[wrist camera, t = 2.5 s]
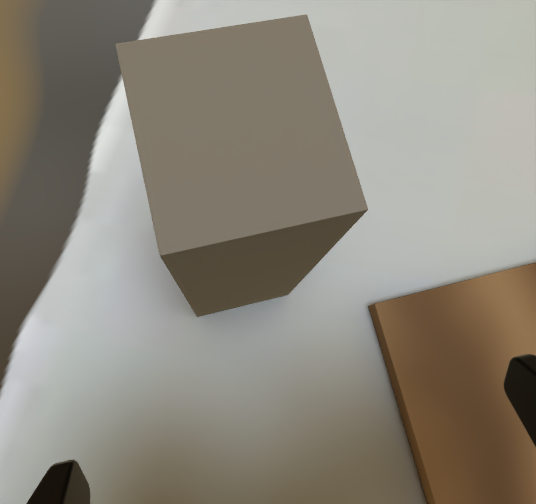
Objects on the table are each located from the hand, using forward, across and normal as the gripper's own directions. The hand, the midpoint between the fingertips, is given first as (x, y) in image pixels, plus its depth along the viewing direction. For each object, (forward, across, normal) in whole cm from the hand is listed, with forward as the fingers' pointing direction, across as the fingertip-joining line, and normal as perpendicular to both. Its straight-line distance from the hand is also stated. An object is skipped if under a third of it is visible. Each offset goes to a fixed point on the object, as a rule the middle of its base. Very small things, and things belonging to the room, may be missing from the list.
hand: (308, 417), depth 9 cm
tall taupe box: (+13, 0, +4) cm, 14 cm away
